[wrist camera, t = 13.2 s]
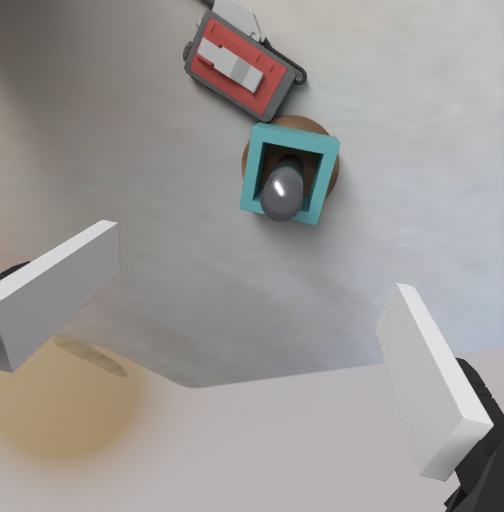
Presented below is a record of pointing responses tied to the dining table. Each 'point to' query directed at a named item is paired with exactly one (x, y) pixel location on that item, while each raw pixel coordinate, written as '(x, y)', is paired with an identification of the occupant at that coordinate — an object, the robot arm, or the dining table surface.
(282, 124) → the post base
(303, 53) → the dining table surface
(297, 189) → the post
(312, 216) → the collar
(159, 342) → the dining table surface
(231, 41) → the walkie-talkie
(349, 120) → the dining table surface
